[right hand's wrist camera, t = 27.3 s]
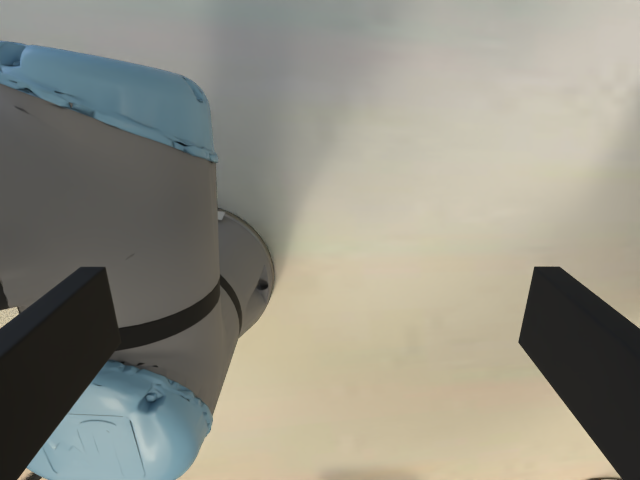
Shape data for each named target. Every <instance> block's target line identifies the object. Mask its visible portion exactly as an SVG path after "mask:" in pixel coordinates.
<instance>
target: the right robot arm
mask: <svg viewBox="0 0 640 480" xmlns="http://www.w3.org/2000/svg"><path fill="white" fill-rule="evenodd" d="M216 163H218V156H217V154H216V153H215V152H214V145H213V134H212V124H211V113H210V106H209V102H208V99H207V97H206V95H205V93H204V92H203V91H202V89H201V88H200V87H199V86H198V85H197V84H196V83H194V82H193V81H192V80H190V79H188V78H187V77H185V76H182V75H179V74H176V73H172V72H168V71H164V70H160V69H156V68H152V67H147V66H143V65H138V64H134V63H129V62H124V61H119V60H114V59H109V58H104V57H99V56H94V55H89V54H83V53H78V52H72V51H67V50H61V49H56V48H49V47H43V46H37V45H25V44H22V43H15V42H7V41H0V310H4V309H8V308H13V307H17V308H18V311H19V315H17V316H16V317H15V318H14V319H12V320H11V321H10V322H8V323H7V324H6V325H5V326H3V327H2V328H1V329H0V480H17V479H18V478H19V477H20V475H21V474H22V473H23V471H24V470H25V469H26V468H27V469H29V470H31V471H32V472H34V473H35V474H34V475H33V476H32V477H30V478H29V479H28V480H39V479H41V478H42V477H43V478H46V479H48V480H175V479H177V478H179V477H180V476H182V475H183V474H184V473H185V472H186V471H187V470H188V469H189V467H190V466H191V465H192V464H193V462H194V460H195V458H196V457H197V455H198V452H199V450H200V447H201V445H202V443H203V441H204V438H205V437H206V436H207V434H208V433H209V432H210V430H211V425H212V421H213V417H212V416H213V413H214V410H215V407H216V404H217V401H218V398H219V395H220V392H221V389H222V386H223V383H224V380H225V377H226V374H227V371H228V368H229V365H230V362H231V359H232V356H233V353H234V350H235V347H236V344H237V341H238V338H240V337H241V336H242V335H243V334H244V333H245V332H246V331H247V330H248V329H249V328H251V327H252V326H253V325H254V324H255V323H256V322H257V320H258V319H259V318H260V317H261V315H262V313H263V312H264V310H265V308H266V306H267V304H268V302H269V300H270V297H271V293H272V289H273V283H274V268H273V262H272V259H271V255H270V253H269V251H268V248H267V247H266V245H265V243H264V241H263V240H262V238H261V237H260V236H259V235H258V233H257V232H256V231H255V230H254V229H253V228H252V227H251V226H250V225H248V224H247V223H246V222H245V221H243V220H242V219H240V218H239V217H237V216H235V215H234V214H232V213H230V212H227V211H225V210H222V209H219V208H217V184H216ZM519 344H520V345H521V346H522V348H523V349H524V350H525V352H526V353H527V354H528V356H529V357H530V358H531V360H532V361H533V362H534V364H535V365H536V366H537V367H538V369H539V370H540V371H541V373H542V374H543V375H544V377H545V378H546V379H547V381H548V382H549V383H550V385H551V386H552V387H553V389H554V390H555V391H556V392H557V394H558V395H559V396H560V398H561V399H562V400H563V402H564V403H565V404H566V406H567V407H568V408H569V410H570V411H571V412H572V413H573V415H574V416H575V417H576V419H577V420H578V421H579V423H580V424H581V425H582V427H583V428H584V429H585V431H586V432H587V433H588V435H589V436H590V437H591V438H592V440H593V441H594V442H595V444H596V445H597V446H598V448H599V449H600V450H601V452H602V453H603V454H604V456H605V457H606V458H607V460H608V461H609V462H610V463H611V465H612V466H613V467H614V469H615V470H616V471H617V473H618V474H619V475H620V477H621V478H622V479H623V480H640V329H639V328H638V327H637V326H635V325H634V324H633V323H632V322H630V321H629V320H628V319H626V318H625V317H624V316H623V315H621V314H620V313H619V312H617V311H616V310H615V309H613V308H612V307H611V306H610V305H608V304H607V303H606V302H604V301H603V300H602V299H601V298H599V297H598V296H597V295H595V294H594V293H593V292H591V291H590V290H589V289H588V288H586V287H585V286H584V285H582V284H581V283H580V282H579V281H577V280H576V279H575V278H573V277H572V276H571V275H570V274H568V273H567V272H566V271H564V270H563V269H562V268H560V267H534V271H533V276H532V281H531V285H530V290H529V295H528V299H527V304H526V309H525V314H524V318H523V323H522V328H521V332H520V337H519Z"/></svg>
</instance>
